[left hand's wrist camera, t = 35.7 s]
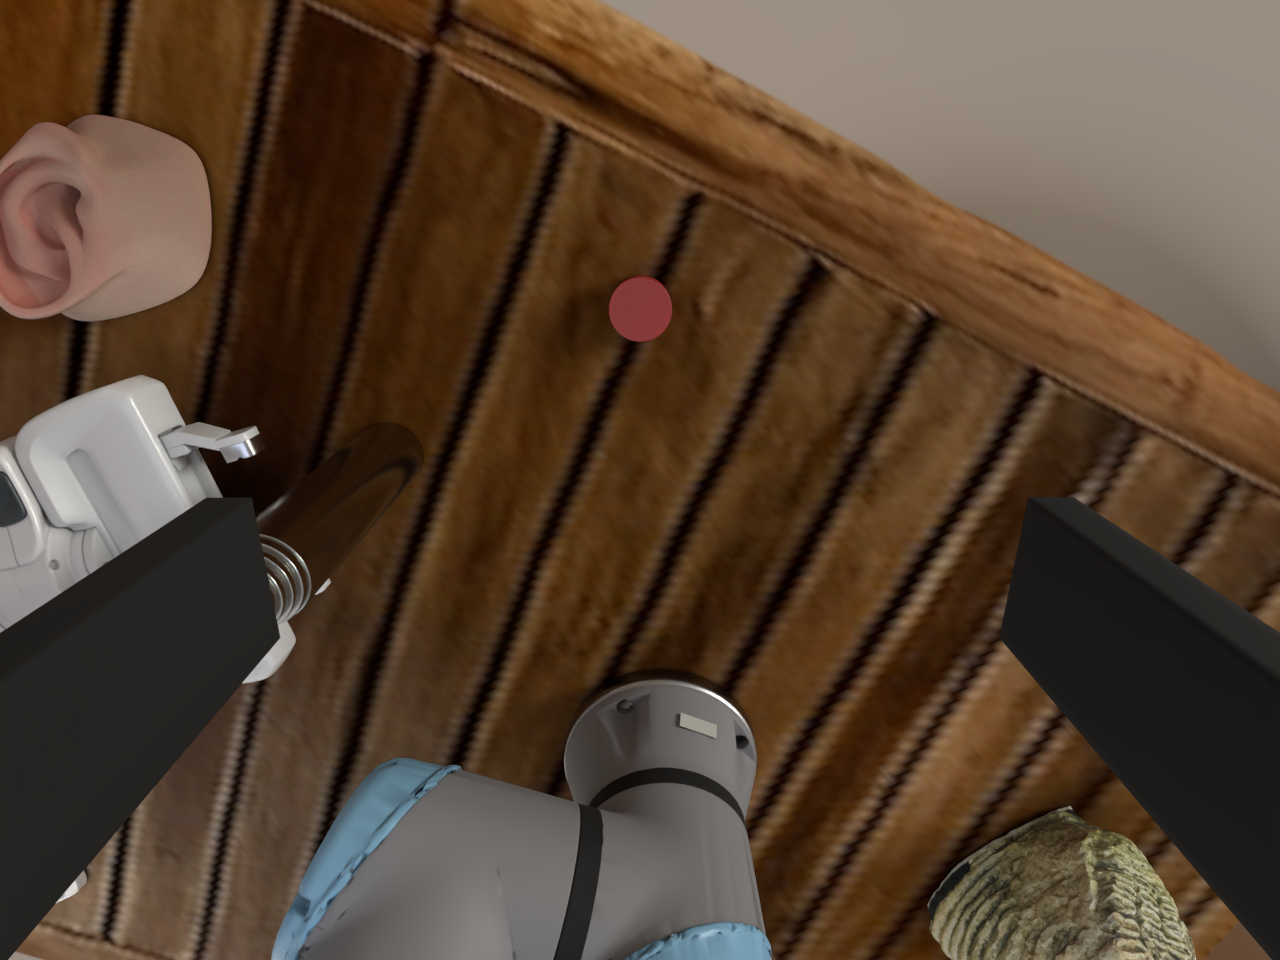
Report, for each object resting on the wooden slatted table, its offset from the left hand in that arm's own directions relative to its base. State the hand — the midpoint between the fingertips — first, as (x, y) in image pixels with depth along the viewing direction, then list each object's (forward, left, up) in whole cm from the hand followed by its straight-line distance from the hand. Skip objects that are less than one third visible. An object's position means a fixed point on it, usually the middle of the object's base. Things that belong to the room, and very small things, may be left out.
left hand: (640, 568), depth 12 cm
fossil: (-33, -47, -36) cm, 68 cm away
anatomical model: (-6, +32, -36) cm, 49 cm away
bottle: (-15, +13, -36) cm, 41 cm away
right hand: (-18, +16, -29) cm, 38 cm away
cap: (0, 0, -34) cm, 35 cm away
